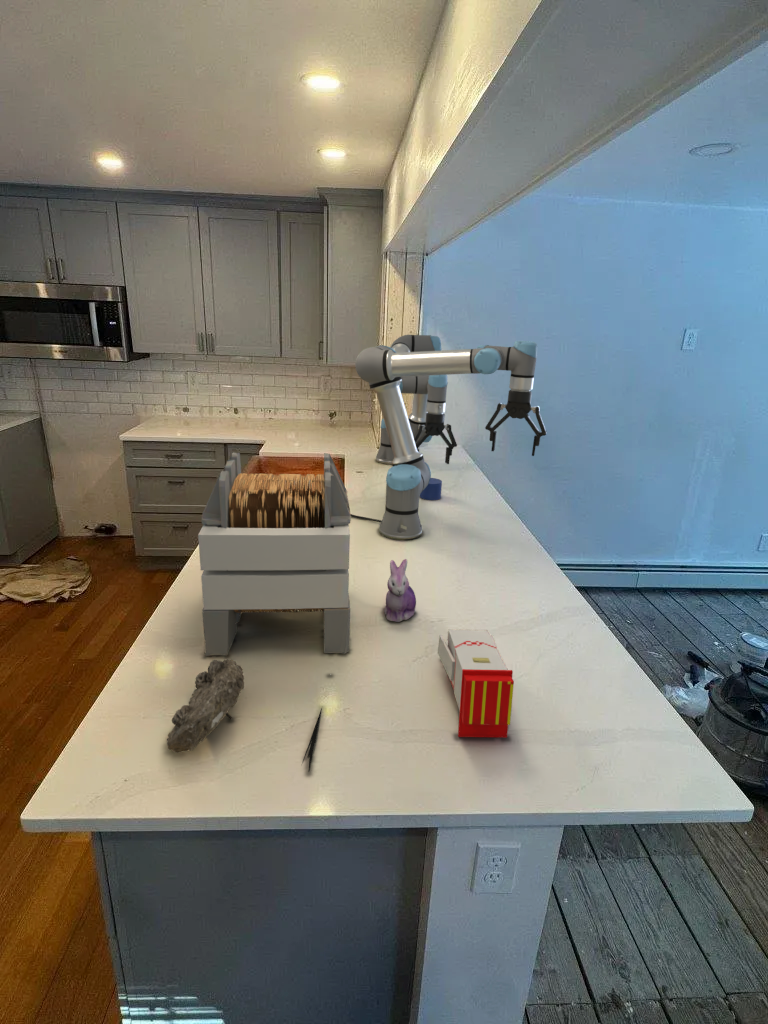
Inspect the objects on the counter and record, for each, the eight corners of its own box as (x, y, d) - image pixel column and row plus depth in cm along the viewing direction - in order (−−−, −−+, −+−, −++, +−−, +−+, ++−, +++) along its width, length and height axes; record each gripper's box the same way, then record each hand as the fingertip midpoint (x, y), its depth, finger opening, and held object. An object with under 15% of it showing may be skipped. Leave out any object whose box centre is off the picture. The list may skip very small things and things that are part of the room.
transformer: (226, 586, 157) (217, 442, 143) (344, 585, 161) (346, 445, 147) (202, 658, 125) (189, 482, 112) (350, 654, 129) (354, 483, 115)
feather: (331, 679, 122) (336, 673, 122) (307, 777, 96) (313, 769, 95) (324, 675, 122) (329, 669, 121) (298, 772, 95) (304, 764, 95)
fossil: (192, 660, 117) (244, 628, 112) (224, 691, 120) (276, 661, 115) (142, 746, 98) (202, 712, 93) (182, 779, 101) (242, 748, 96)
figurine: (392, 627, 141) (395, 572, 136) (374, 608, 149) (376, 556, 144) (425, 619, 145) (429, 566, 140) (405, 601, 154) (408, 550, 149)
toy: (488, 613, 130) (523, 677, 101) (484, 667, 133) (517, 744, 104) (435, 612, 130) (455, 676, 101) (432, 666, 133) (451, 743, 103)
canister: (429, 501, 235) (430, 485, 233) (415, 495, 242) (416, 479, 239) (445, 498, 240) (446, 482, 238) (431, 492, 247) (432, 476, 244)
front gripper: (560, 391, 187) (550, 454, 194) (484, 385, 194) (478, 446, 201) (559, 394, 180) (549, 459, 187) (481, 388, 187) (474, 450, 194)
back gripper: (409, 414, 222) (406, 466, 229) (467, 414, 229) (463, 465, 236) (403, 411, 229) (400, 462, 236) (460, 411, 236) (456, 460, 243)
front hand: (512, 452), depth 194 cm, fingers open, 13 cm apart
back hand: (431, 463), depth 236 cm, fingers open, 13 cm apart
